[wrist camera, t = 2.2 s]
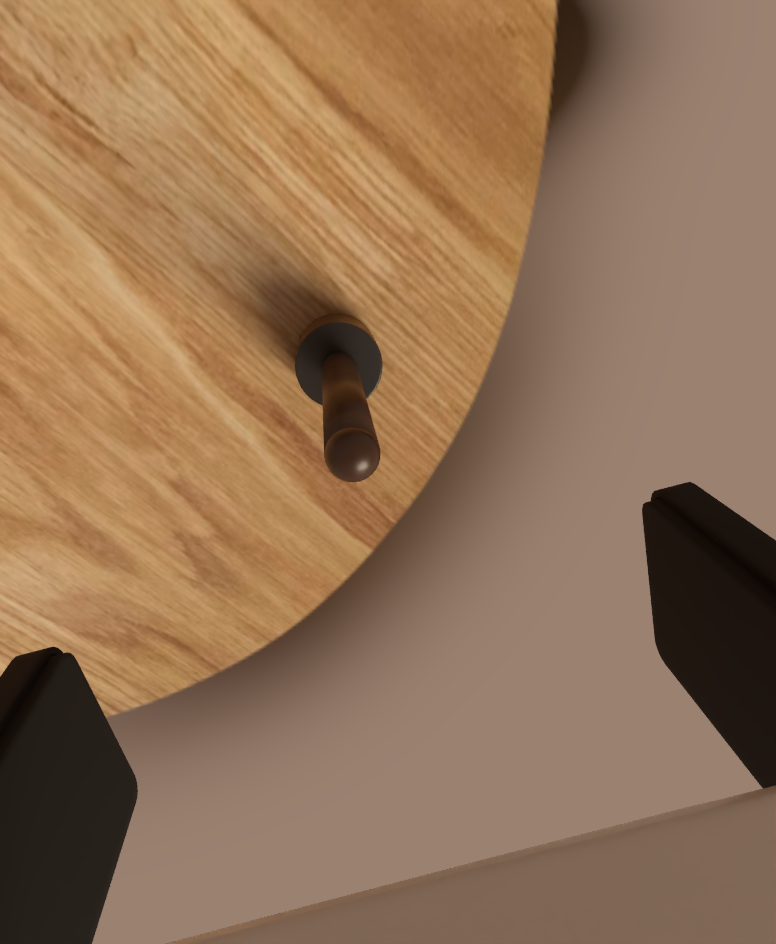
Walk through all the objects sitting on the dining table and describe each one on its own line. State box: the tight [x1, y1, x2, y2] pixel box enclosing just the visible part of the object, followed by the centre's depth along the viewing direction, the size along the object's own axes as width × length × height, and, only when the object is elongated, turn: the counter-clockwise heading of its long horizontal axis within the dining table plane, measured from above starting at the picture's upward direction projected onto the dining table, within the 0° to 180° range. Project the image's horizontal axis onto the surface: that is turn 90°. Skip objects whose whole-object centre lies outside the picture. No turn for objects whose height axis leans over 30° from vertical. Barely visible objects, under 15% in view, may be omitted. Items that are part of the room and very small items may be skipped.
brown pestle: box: [295, 314, 382, 482], centre depth 26 cm, size 4×4×16 cm
